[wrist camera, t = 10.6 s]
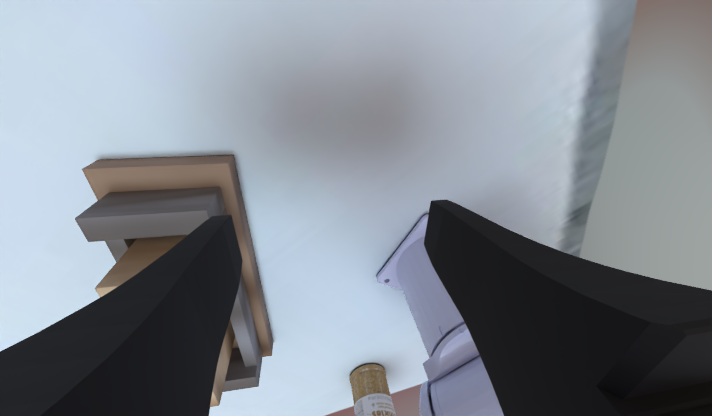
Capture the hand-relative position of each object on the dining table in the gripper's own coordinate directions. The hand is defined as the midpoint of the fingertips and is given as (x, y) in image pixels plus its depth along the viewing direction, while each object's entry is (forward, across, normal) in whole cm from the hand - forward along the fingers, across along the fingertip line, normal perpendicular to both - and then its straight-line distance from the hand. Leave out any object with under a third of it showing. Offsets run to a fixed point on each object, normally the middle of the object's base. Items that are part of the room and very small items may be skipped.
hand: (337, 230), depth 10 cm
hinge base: (+10, +10, +11) cm, 18 cm away
